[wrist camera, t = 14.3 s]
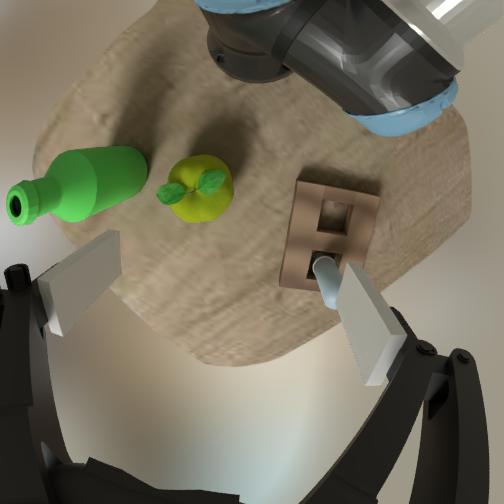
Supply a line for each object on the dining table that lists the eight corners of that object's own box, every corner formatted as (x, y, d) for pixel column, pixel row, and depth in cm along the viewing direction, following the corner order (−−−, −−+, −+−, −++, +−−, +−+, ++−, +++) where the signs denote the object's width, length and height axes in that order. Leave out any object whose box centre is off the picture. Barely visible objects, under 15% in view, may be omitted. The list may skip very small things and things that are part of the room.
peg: (313, 249, 45) (327, 283, 34) (334, 252, 45) (354, 286, 34) (308, 269, 46) (320, 308, 35) (329, 272, 46) (346, 310, 35)
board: (296, 179, 41) (298, 181, 39) (374, 194, 41) (380, 197, 39) (278, 279, 47) (279, 286, 45) (350, 288, 47) (353, 295, 45)
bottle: (119, 206, 44) (17, 264, 20) (97, 164, 41) (-15, 194, 18) (159, 179, 42) (57, 222, 19) (135, 135, 39) (21, 140, 16)
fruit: (172, 161, 41) (147, 166, 31) (230, 149, 40) (220, 149, 30) (184, 216, 44) (163, 236, 35) (241, 207, 43) (234, 224, 34)
